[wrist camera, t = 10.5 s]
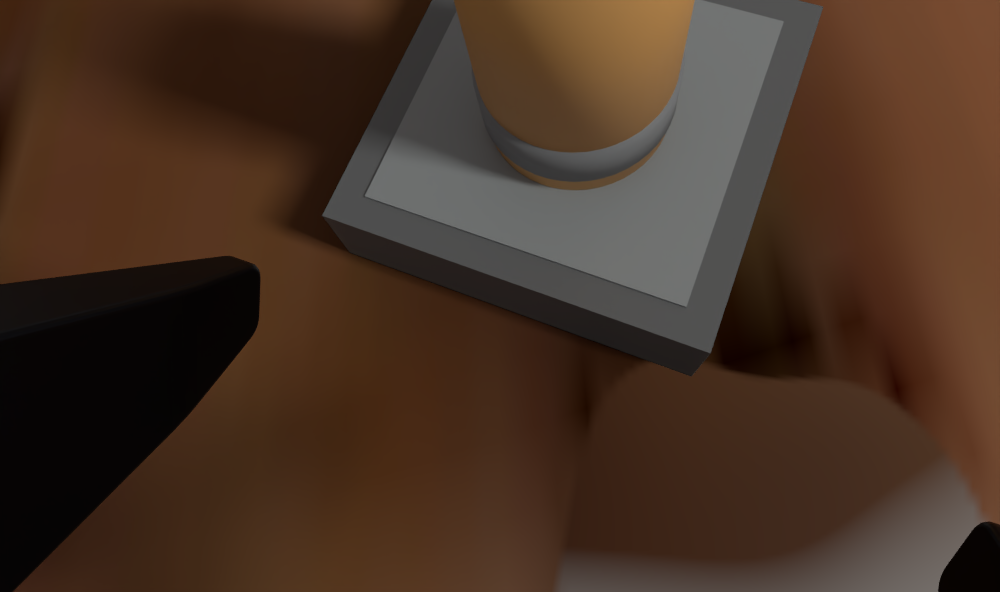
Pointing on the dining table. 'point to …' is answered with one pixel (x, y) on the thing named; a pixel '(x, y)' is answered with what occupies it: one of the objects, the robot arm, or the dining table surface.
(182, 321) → the robot arm
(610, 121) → the housing
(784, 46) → the stand
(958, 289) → the dining table surface
